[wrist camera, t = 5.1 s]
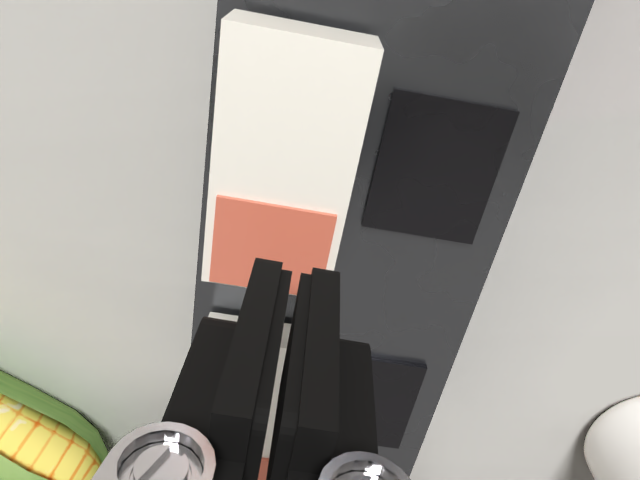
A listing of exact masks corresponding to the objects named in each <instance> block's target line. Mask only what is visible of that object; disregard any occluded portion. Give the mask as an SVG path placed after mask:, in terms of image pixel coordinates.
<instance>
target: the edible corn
mask: <svg viewBox="0 0 640 480" xmlns="http://www.w3.org/2000/svg"><path fill="white" fill-rule="evenodd" d="M107 455H108V451H107V449H106V447H105V445H104V443H103V441H102V438H101V436H100V434H99V431H98V430H97V429H96V428H95V427H94V426H93V425H92V424H90V423H89V422H88V421H87V420H86V419H85V418H84V417H83V416H82V415H81V414H79V413H78V412H77V411H76V410H74V409H73V408H71V407H69V406H67V405H65V404H63V403H62V402H60V401H58V400H56V399H54V398H53V397H51V396H49V395H47V394H45V393H44V392H42V391H40V390H38V389H36V388H35V387H33V386H31V385H29V384H27V383H25V382H23V381H21V380H19V379H17V378H15V377H13V376H11V375H9V374H7V373H5V372H3V371H1V370H0V480H91V479H92V477H93V476H94V474H95V473H96V471H97V470H98V468H99V467H100V465H101V464H102V462H103V461H104V459H105V458H106V456H107Z"/></svg>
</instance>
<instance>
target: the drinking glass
mask: <svg viewBox="0 0 640 480" xmlns="http://www.w3.org/2000/svg"><path fill="white" fill-rule="evenodd" d="M584 456H585V460H586V463H587V465H588V467H589V470H590V472H591V474H592V476H593V478H594V480H640V396H638V397H634V398H631V399H628V400H625V401H623V402H620V403H618V404H616V405H615V406H613V407H611V408H610V409H608V410H607V411H605V412H604V413H603V414H602V415H600V416H599V417H598V418H597V419H596V420H595V421H594V423H593V424H592V425H591V427H590V429H589V430H588V432H587V435H586V438H585V442H584Z"/></svg>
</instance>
